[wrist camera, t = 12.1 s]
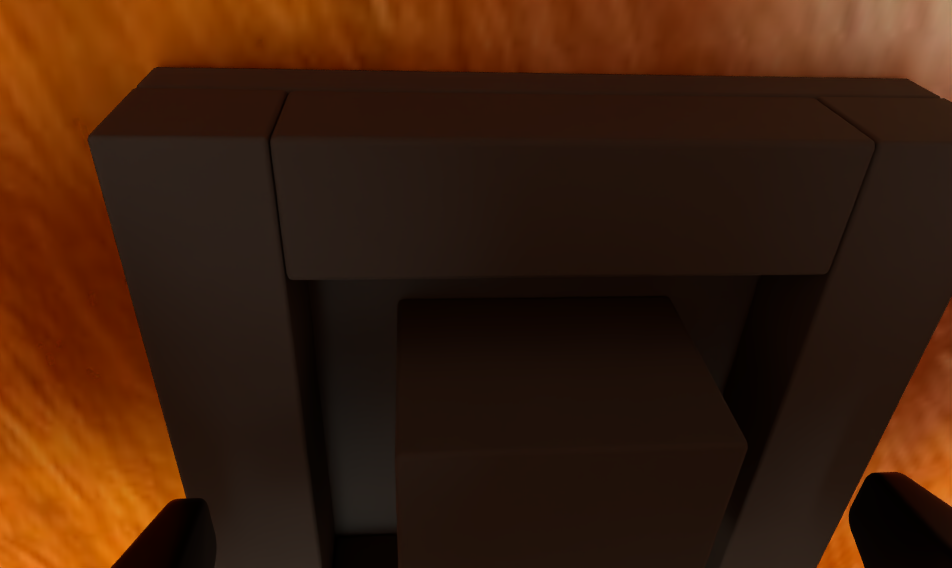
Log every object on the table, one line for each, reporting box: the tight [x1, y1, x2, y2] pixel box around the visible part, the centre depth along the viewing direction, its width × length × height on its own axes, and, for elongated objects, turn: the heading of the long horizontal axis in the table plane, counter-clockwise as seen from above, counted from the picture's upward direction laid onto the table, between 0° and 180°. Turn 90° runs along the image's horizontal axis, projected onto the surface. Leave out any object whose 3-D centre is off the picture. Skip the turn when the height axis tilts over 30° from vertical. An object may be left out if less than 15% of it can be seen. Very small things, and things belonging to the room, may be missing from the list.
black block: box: [395, 296, 748, 568], centre depth 10 cm, size 4×4×3 cm
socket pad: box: [88, 67, 952, 568], centre depth 11 cm, size 10×10×2 cm
